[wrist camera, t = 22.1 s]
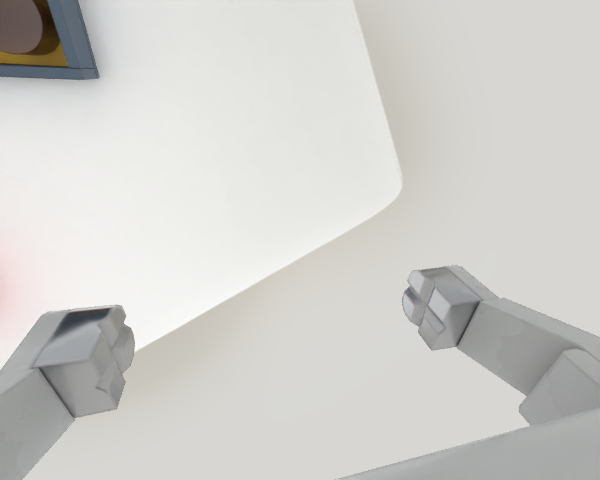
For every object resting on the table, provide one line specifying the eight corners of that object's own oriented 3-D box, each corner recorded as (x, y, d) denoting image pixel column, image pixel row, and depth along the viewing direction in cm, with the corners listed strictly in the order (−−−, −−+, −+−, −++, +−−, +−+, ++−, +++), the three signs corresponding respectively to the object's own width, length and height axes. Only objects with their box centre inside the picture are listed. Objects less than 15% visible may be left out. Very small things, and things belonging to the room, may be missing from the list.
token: (-34, -30, 20) (-70, -43, 18) (47, -21, 21) (23, -33, 19) (1, 53, 23) (-26, 52, 20) (71, 57, 24) (53, 56, 21)
